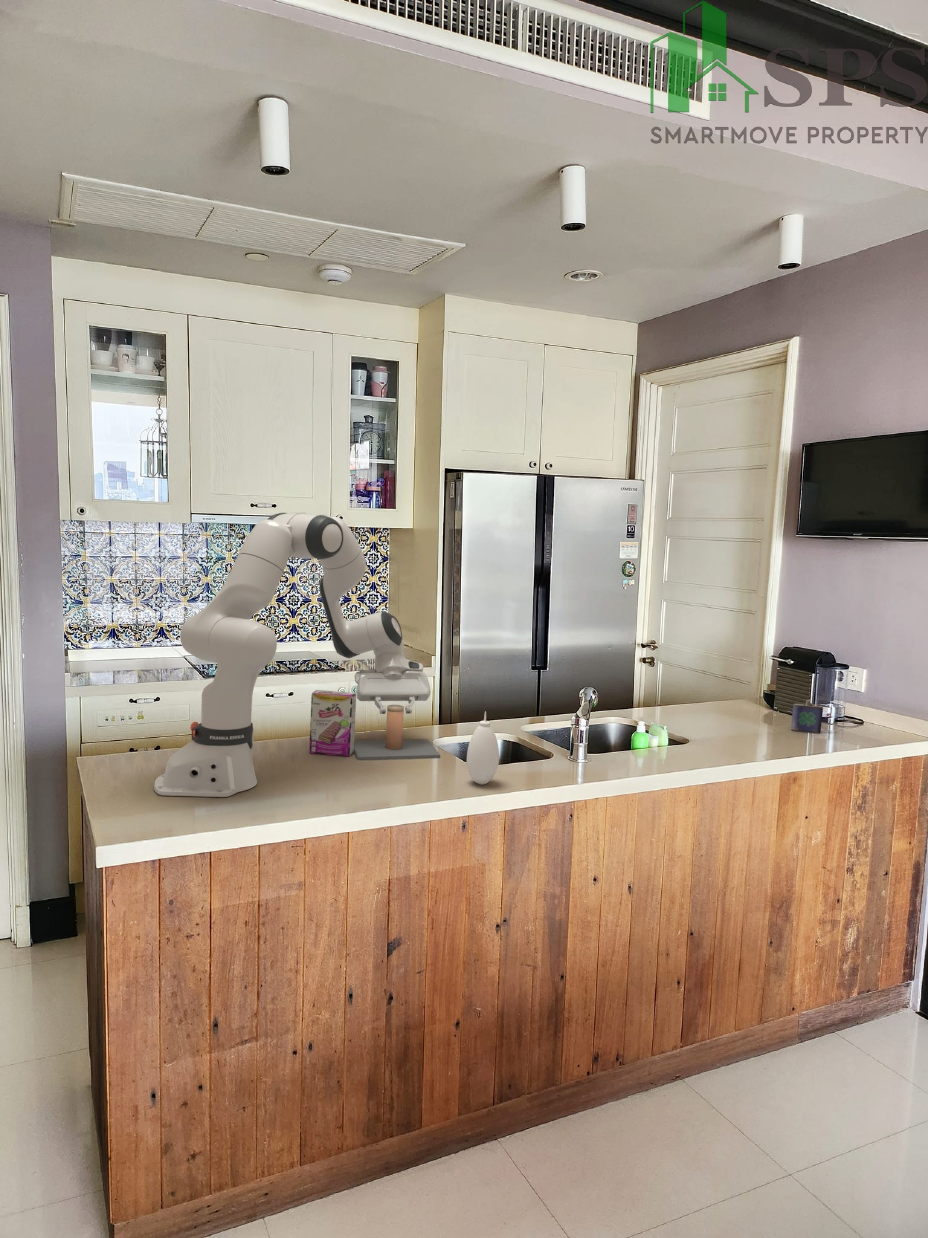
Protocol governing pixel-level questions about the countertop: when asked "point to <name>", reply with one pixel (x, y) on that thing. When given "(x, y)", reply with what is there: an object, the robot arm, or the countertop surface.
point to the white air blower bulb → (483, 753)
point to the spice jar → (394, 727)
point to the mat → (408, 751)
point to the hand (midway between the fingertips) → (396, 712)
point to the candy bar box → (332, 723)
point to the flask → (807, 718)
